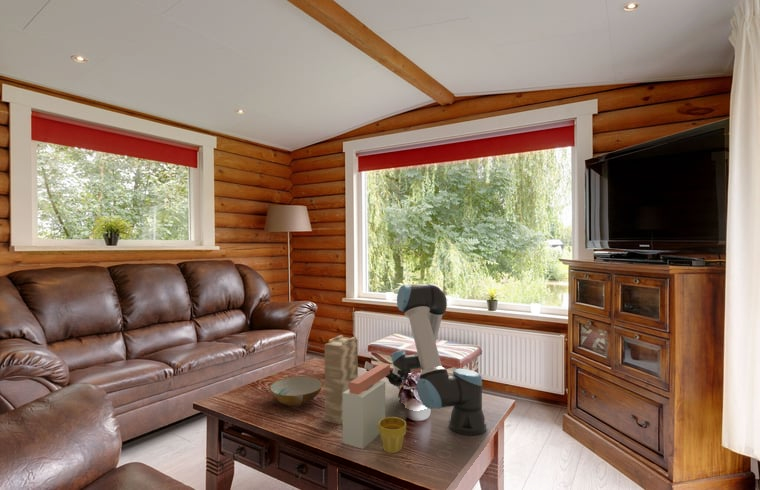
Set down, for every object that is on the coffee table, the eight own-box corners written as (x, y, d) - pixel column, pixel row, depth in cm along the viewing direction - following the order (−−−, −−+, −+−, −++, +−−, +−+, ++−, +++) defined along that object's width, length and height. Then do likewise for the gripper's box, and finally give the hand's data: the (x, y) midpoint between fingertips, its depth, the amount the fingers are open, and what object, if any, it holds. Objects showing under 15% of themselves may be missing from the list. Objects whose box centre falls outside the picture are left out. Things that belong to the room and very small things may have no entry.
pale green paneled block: (366, 423, 170) (366, 377, 170) (385, 428, 166) (385, 381, 165) (342, 443, 154) (342, 392, 154) (362, 448, 150) (362, 396, 150)
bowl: (329, 406, 187) (329, 389, 187) (275, 417, 177) (275, 399, 176) (314, 388, 210) (314, 373, 210) (265, 396, 199) (265, 380, 199)
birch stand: (342, 407, 187) (342, 334, 186) (359, 411, 183) (359, 336, 182) (323, 420, 174) (322, 341, 173) (340, 424, 169) (340, 344, 169)
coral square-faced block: (381, 372, 177) (381, 363, 176) (389, 373, 175) (389, 364, 175) (349, 392, 154) (349, 382, 154) (358, 394, 152) (358, 383, 152)
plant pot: (403, 458, 144) (402, 431, 144) (375, 453, 147) (375, 427, 147) (408, 443, 154) (408, 418, 154) (382, 440, 157) (382, 415, 156)
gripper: (421, 391, 179) (404, 380, 163) (372, 382, 191) (352, 371, 175) (424, 374, 183) (408, 362, 166) (376, 366, 194) (356, 354, 178)
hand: (379, 366), depth 170 cm, fingers open, 13 cm apart
